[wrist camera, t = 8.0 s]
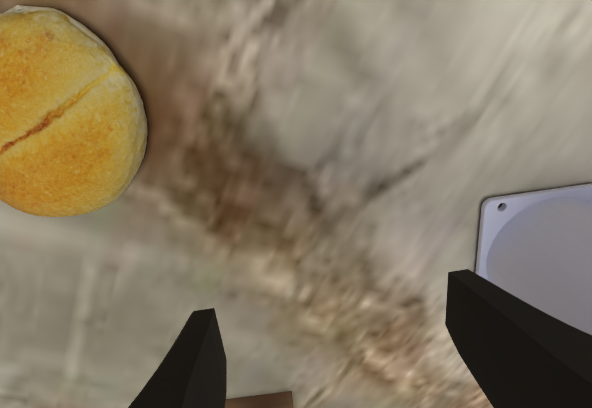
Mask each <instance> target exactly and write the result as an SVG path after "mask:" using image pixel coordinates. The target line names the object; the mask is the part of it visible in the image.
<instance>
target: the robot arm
mask: <svg viewBox="0 0 592 408" xmlns="http://www.w3.org/2000/svg"><path fill="white" fill-rule="evenodd" d="M501 203H503V204H502V206H501V207H500V208H498V205H499V204H501ZM445 325H446V327H447V329H448V331H449V333H450V336H451V338H452V340H453V342H454V344H455V346H456V348H457V350H458V352H459V354H460V356H461V357H462V359H463V361H464V362H465V364H466V365H467V367H468V369H469V370H470V372H471V373H472V375H473V376H474V378H475V380H476V381H477V383H478V384H479V386H480V387H481V389H482V390H483V392H484V393H485V395H486V396H487V398H488V400H489V401H490V403H491V404H492V406H493V407H494V408H592V183H591V184H584V185H577V186H570V187H563V188H556V189H549V190H542V191H535V192H528V193H521V194H514V195H507V196H499V197H492V198H488V199H487V200H485V201H484V202H483V204H482V208H481V219H480V230H479V241H478V252H477V262H476V273H474V272H472V271H470V270H468V269H467V270H460V271H454V272H448V289H447V305H446V322H445ZM225 400H226V356H225V352H224V347H223V343H222V339H221V335H220V331H219V326H218V322H217V318H216V314H215V310H214V308H212V309H205V310H198V311H194V312H193V313H192V314H191V315H190V317H189V319H188V321H187V322H186V324H185V326H184V328H183V329H182V331H181V333H180V334H179V336H178V338H177V339H176V341H175V342H174V344H173V346H172V347H171V349H170V350H169V352H168V353H167V355H166V357H165V358H164V360H163V361H162V363H161V364H160V366H159V367H158V369H157V370H156V371H155V373H154V374H153V376H152V377H151V378H150V380H149V381H148V382H147V384H146V385H145V387H144V388H143V389H142V391H141V392H140V393H139V395H138V396H137V397H136V398H135V400H134V401H133V402H132V403H131V405H130V406H129V407H128V408H225Z"/></svg>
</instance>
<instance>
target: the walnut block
mask: <svg viewBox="0 0 592 408" xmlns="http://www.w3.org/2000/svg"><path fill="white" fill-rule="evenodd" d="M225 408H293V401H292V392H291V391H288V392H280V393H272V394H265V395H257V396H249V397H241V398H233V399H226V400H225Z"/></svg>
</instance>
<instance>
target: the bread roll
mask: <svg viewBox="0 0 592 408" xmlns="http://www.w3.org/2000/svg"><path fill="white" fill-rule="evenodd" d="M147 133H148V132H147V119H146V115H145V111H144V108H143V102H142V99H141V97H140V94H139V92H138V90H137V87H136V85H135V84H134V82H133V80H132V79H131V78H130V77H129V75H128V74H127V73H126V72H125V71H124V69H123V68H122V67H121V66H120V65H119V64H118V62H117V60H116V58H115V57H114V55H113V54H112V52H111V51H110V49H109V48H108V47H107V46H106V45H105V44H104V42H103V41H102V40H101V39H99V38H98V37H97V36H96V35H95V34H94V33H92V32H91V31H90V30H88V29H87V28H86V27H85V26H84V25H83V24H81V23H80V22H78V21H76V20H74V19H72V18H71V17H69V16H68V15H66V14H65V13H63V12H61V11H59V10H56V9H54V8H48V7H35V6H22V5H16V6H15V7H13V8H11V9H10V10H8V11H6V12H4V13H2V14H0V200H2V201H3V202H5V203H6V204H8V205H10V206H11V207H13V208H15V209H18V210H20V211H22V212H25V213H29V214H33V215H37V216H47V217H63V216H74V215H81V214H86V213H89V212H92V211H95V210H98V209H100V208H102V207H104V206H106V205H108V204H110V203H112V202H113V201H115V200H116V199H117V198H119V197H120V195H121V194H122V193H123V192H124V191H125V190H126V189H127V187H128V186H129V184H130V183H131V181H132V180H133V178H134V176H135V174H136V173H137V171H138V169H139V167H140V165H141V161H142V160H143V158H144V154H145V149H146V144H147Z"/></svg>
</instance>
